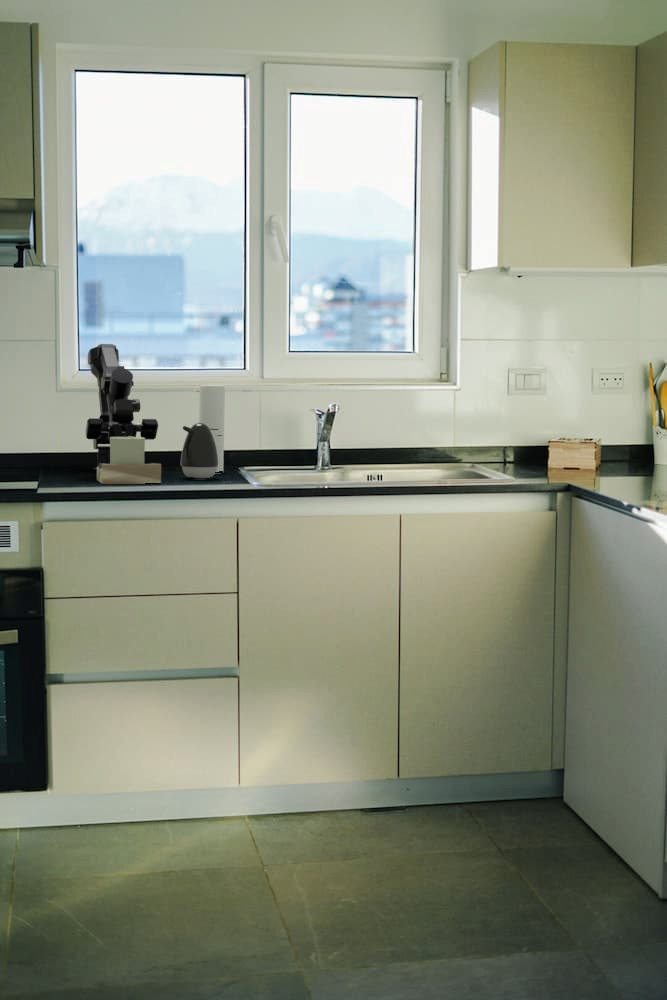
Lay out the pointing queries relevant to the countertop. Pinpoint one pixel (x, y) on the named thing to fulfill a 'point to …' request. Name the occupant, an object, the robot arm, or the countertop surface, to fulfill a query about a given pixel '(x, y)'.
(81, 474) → the countertop surface
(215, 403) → the cylindrical container
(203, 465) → the pump dispenser
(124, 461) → the can
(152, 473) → the frame
